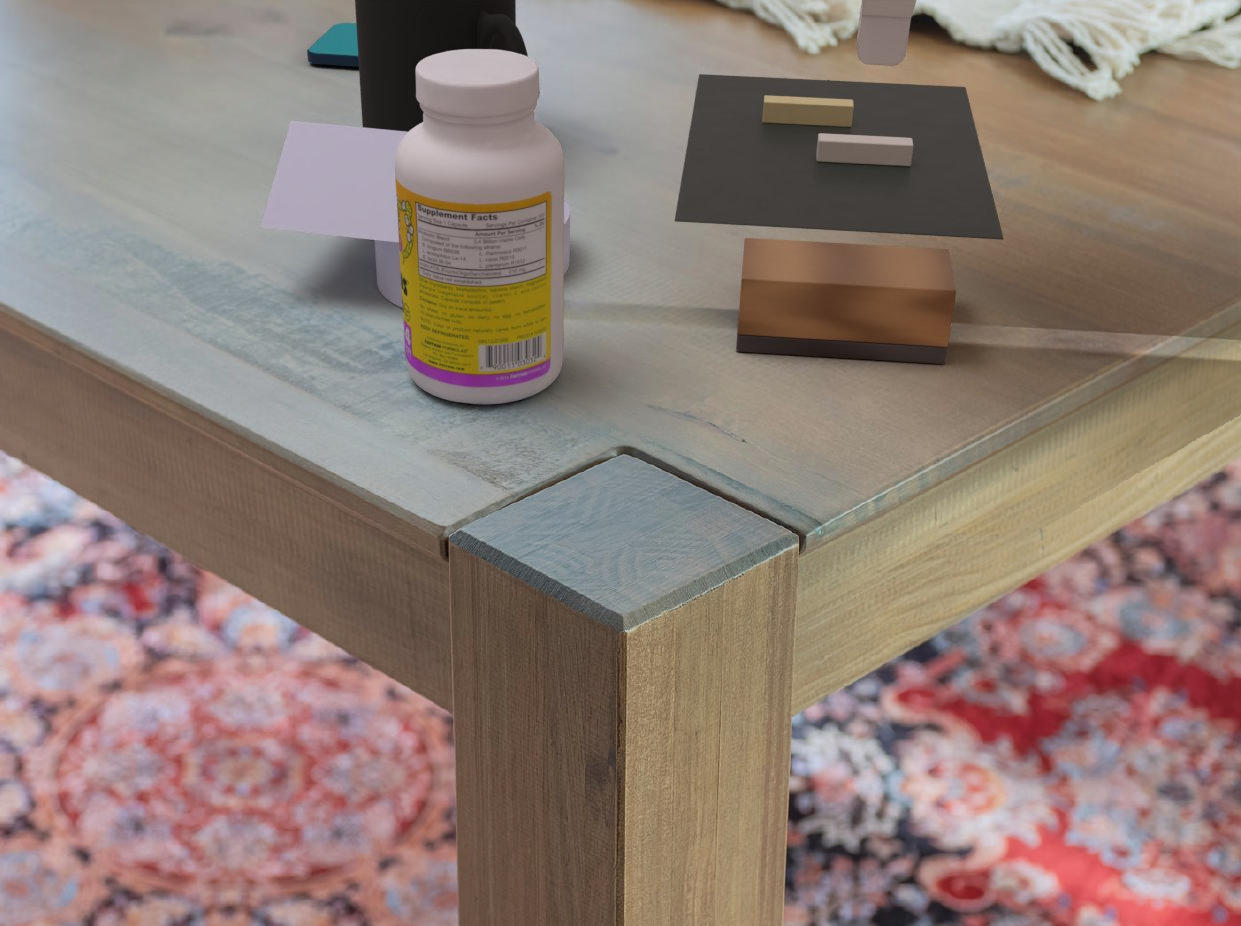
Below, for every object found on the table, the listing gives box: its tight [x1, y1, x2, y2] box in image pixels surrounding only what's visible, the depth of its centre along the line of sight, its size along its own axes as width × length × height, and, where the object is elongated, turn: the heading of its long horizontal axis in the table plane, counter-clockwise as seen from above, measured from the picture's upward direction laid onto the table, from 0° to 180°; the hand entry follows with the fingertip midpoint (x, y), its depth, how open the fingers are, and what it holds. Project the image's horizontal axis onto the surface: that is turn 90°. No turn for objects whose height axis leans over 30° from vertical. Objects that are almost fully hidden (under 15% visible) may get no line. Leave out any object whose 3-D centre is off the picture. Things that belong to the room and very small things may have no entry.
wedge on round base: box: [259, 120, 571, 309], centre depth 77 cm, size 9×7×13 cm
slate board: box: [674, 73, 1004, 240], centre depth 92 cm, size 16×24×1 cm, turn 174°
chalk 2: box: [816, 133, 913, 167], centre depth 90 cm, size 5×1×1 cm, turn 84°
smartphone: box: [306, 22, 359, 68], centre depth 107 cm, size 7×1×15 cm
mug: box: [354, 0, 529, 132], centre depth 88 cm, size 8×12×10 cm
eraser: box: [735, 237, 957, 365], centre depth 74 cm, size 9×5×3 cm, turn 84°
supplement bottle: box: [395, 49, 565, 405], centre depth 67 cm, size 7×7×13 cm
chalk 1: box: [762, 95, 854, 127], centre depth 95 cm, size 5×1×1 cm, turn 84°
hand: (875, 25), depth 67 cm, fingers open, 8 cm apart
